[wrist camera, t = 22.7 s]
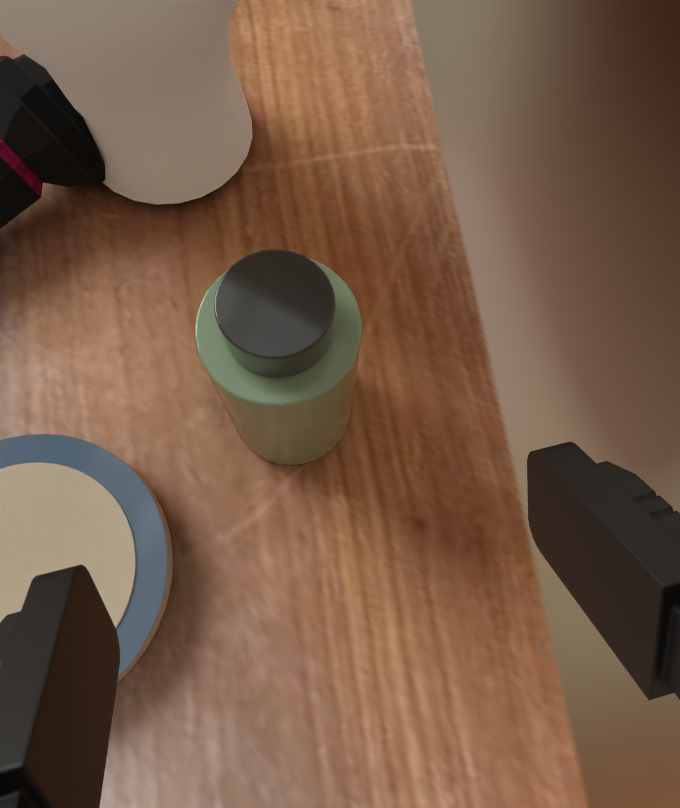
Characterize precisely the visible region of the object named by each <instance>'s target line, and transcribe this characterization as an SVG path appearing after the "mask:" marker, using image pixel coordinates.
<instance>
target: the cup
mask: <svg viewBox="0 0 680 808" xmlns="http://www.w3.org/2000/svg"><path fill="white" fill-rule="evenodd" d="M238 1H239V0H0V37H1V38H2V39H3V40H5V41H6V42H7V43H9V44H10V45H11V46H12V47H14V48H15V49H17V50H18V51H20V52H21V53H23V54H25V55H26V56H28V57H29V58H31V59H32V60H34V61H35V62H37V63H38V64H40V65H41V66H43V67H44V68H46V70H47V71H48V72H49V74H50V75H51V77H52V78H53V79H54V81H55V82H56V84H57V85H58V86H59V88H60V89H61V90H62V92H63V93H64V95H65V96H66V97H67V99H68V100H69V102H70V103H71V104H72V106H73V107H74V108H75V109H76V110H77V111H78V112H79V113H80V114H81V115H82V116H83V118H84V120H85V122H86V124H87V126H88V128H89V130H90V133H91V135H92V137H93V139H94V141H95V143H96V145H97V147H98V149H99V152H100V154H101V156H102V159H103V161H104V164H105V181H103V182H102V183H104V184H105V185H106V186H107V187H109V188H110V189H111V190H112V191H114V192H115V193H118V194H120V195H122V196H125V197H127V198H129V199H131V200H134V201H139V202H145V203H150V204H156V205H157V204H177V203H183V202H186V201H190V200H193V199H197V198H200V197H203V196H205V195H207V194H208V193H210V192H212V191H214V190H216V189H217V188H219V187H221V186H222V185H223V184H225V183H226V182H227V181H228V180H229V179H230V178H231V177H232V176H233V175H234V174H235V173H236V172H237V171H238V170H239V168H240V166H241V165H242V163H243V162H244V160H245V159H246V157H247V155H248V152H249V148H250V144H251V141H252V119H251V116H250V112H249V109H248V106H247V102H246V99H245V96H244V94H243V91H242V88H241V86H240V83H239V81H238V78H237V75H236V73H235V70H234V68H233V65H232V62H231V60H230V39H229V22H230V20H231V18H232V15H233V13H234V10H235V8H236V6H237V3H238Z"/></svg>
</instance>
